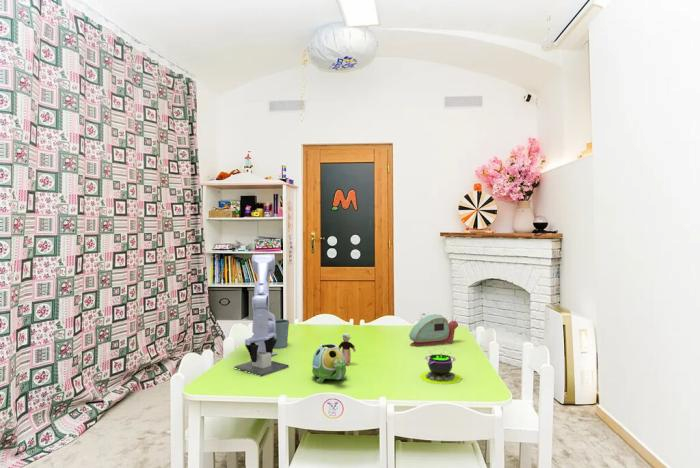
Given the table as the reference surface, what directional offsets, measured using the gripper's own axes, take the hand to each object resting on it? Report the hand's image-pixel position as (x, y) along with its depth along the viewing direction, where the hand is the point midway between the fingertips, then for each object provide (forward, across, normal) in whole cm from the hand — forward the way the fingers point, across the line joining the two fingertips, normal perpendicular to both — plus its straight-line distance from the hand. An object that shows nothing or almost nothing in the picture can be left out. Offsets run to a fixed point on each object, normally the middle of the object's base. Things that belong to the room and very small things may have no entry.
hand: (261, 359), depth 183 cm
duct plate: (+3, 0, 0) cm, 3 cm away
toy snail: (+4, +75, -37) cm, 84 cm away
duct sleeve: (+2, 0, 0) cm, 2 cm away
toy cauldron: (+4, +31, -62) cm, 70 cm away
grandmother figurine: (+4, +24, -24) cm, 34 cm away
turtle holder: (+4, +6, -31) cm, 32 cm away
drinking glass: (+4, +28, +20) cm, 35 cm away
